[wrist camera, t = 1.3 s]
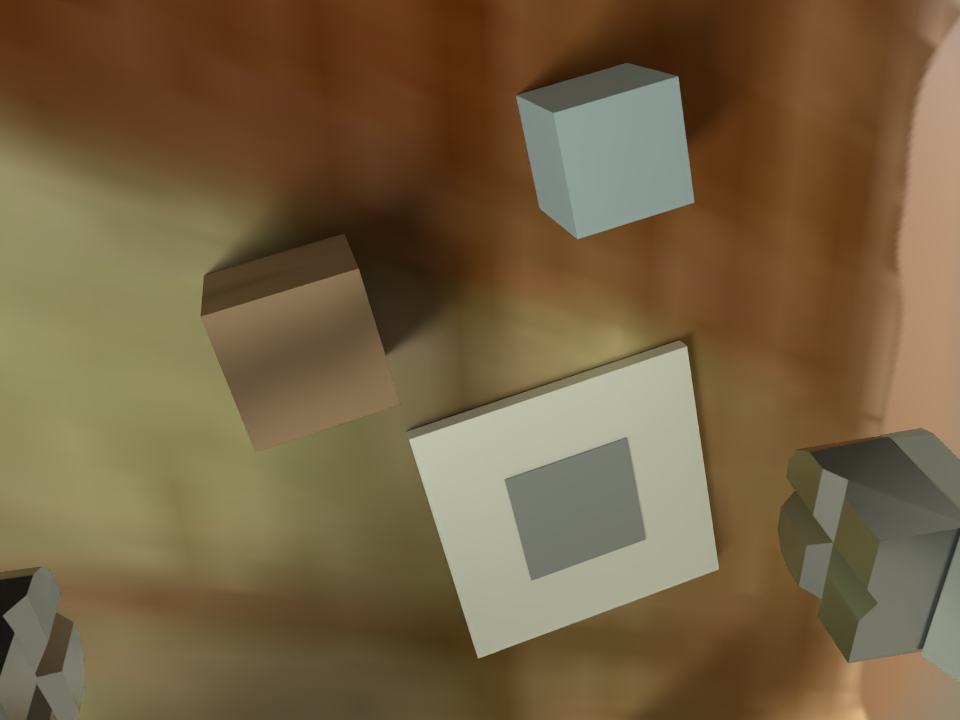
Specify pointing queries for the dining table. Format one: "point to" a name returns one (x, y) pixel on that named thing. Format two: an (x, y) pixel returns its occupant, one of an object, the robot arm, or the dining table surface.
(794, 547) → the robot arm
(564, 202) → the grey cube
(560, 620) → the plate
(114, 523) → the dining table surface
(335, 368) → the walnut block
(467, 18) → the dining table surface
